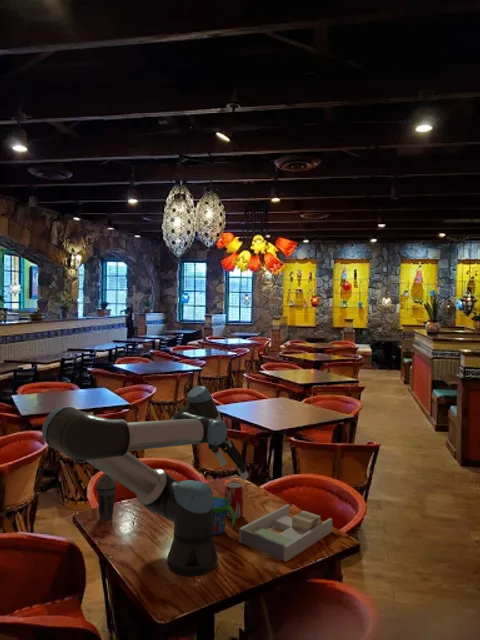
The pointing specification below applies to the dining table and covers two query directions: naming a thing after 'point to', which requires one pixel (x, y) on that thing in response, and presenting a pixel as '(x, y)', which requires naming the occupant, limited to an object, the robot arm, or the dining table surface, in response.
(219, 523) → the snack cup
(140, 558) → the dining table surface
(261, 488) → the dining table surface
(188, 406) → the robot arm
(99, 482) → the beverage cup
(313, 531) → the trap box
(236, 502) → the soda can
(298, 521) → the beech block
